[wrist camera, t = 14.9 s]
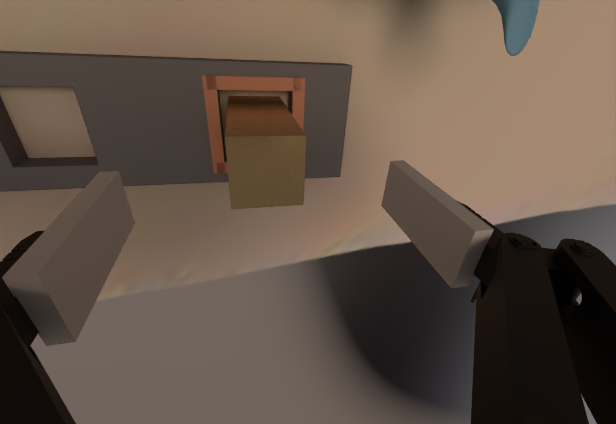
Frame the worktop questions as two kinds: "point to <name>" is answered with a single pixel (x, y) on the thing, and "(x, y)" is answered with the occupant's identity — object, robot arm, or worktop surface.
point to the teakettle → (517, 22)
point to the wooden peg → (264, 153)
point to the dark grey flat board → (166, 115)
